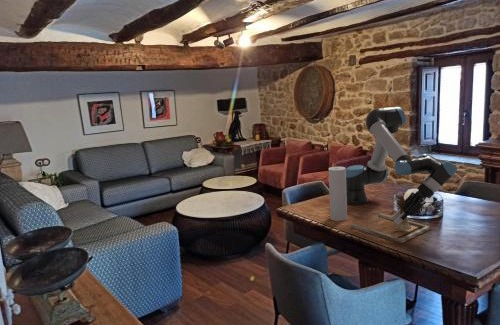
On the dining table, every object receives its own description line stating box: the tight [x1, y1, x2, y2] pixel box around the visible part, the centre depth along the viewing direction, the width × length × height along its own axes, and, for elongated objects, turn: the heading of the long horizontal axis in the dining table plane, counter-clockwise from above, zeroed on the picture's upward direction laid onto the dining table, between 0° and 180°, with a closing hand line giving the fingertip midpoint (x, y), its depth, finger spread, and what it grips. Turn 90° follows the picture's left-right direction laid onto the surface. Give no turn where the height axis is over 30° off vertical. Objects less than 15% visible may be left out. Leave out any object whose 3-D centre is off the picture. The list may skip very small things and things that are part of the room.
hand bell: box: [393, 196, 411, 231], centre depth 183 cm, size 8×8×16 cm
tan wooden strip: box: [390, 225, 419, 238], centre depth 184 cm, size 21×4×1 cm, turn 124°
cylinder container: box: [328, 166, 348, 222], centre depth 208 cm, size 9×9×30 cm
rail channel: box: [350, 212, 431, 244], centre depth 191 cm, size 24×30×2 cm
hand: (394, 221), depth 184 cm, fingers closed on hand bell, 4 cm apart
